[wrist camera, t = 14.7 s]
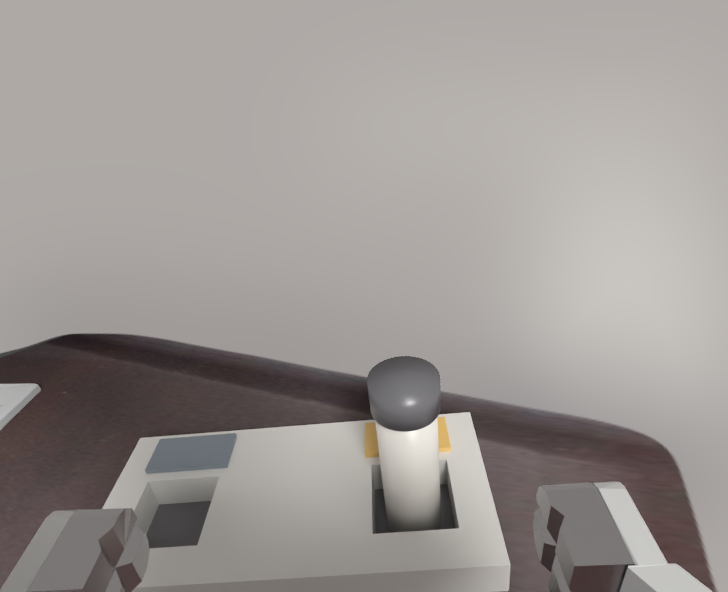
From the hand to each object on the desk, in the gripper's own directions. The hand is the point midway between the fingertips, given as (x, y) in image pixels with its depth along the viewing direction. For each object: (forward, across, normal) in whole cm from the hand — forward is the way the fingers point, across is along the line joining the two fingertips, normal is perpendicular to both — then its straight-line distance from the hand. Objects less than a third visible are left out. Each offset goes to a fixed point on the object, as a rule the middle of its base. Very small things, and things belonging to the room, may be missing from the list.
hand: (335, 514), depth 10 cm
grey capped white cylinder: (+14, -2, +21) cm, 25 cm away
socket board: (+15, +6, +22) cm, 27 cm away
